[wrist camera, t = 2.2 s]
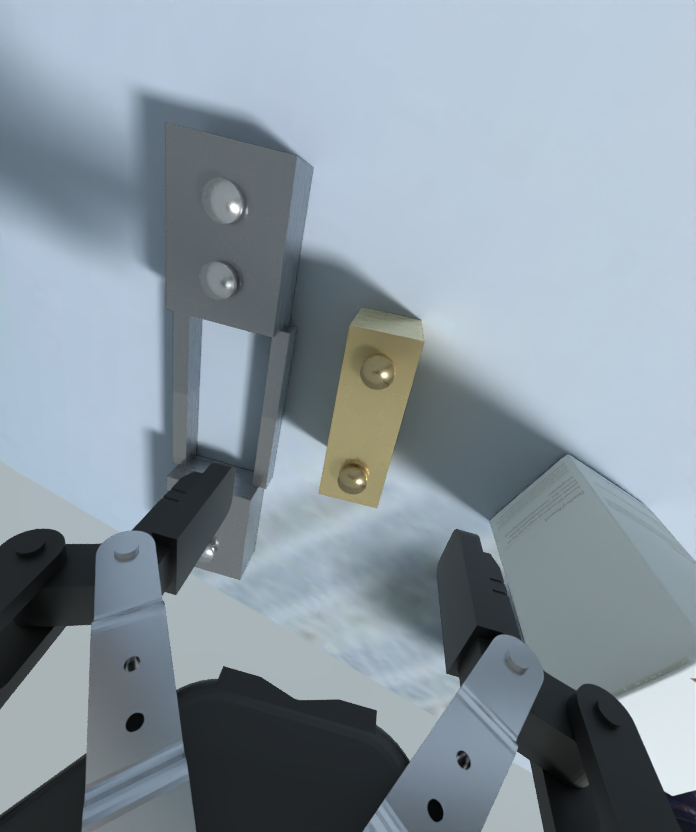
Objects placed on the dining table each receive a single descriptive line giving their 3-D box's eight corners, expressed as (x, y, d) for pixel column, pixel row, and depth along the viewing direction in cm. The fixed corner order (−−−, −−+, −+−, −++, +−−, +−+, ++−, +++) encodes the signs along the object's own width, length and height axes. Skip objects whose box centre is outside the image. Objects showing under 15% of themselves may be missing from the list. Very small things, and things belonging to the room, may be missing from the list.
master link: (362, 306, 21) (347, 327, 16) (421, 319, 21) (425, 344, 16) (334, 449, 26) (316, 500, 21) (382, 461, 26) (376, 515, 21)
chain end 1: (191, 136, 19) (145, 115, 15) (322, 170, 18) (305, 155, 15) (185, 383, 25) (152, 404, 22) (283, 410, 25) (264, 435, 22)
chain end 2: (185, 383, 25) (152, 404, 22) (283, 410, 25) (264, 435, 22) (182, 529, 31) (156, 562, 28) (260, 552, 31) (243, 588, 28)
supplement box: (485, 519, 26) (542, 729, 15) (567, 449, 23) (718, 651, 12) (563, 569, 27) (672, 803, 16) (653, 509, 24) (868, 749, 13)
